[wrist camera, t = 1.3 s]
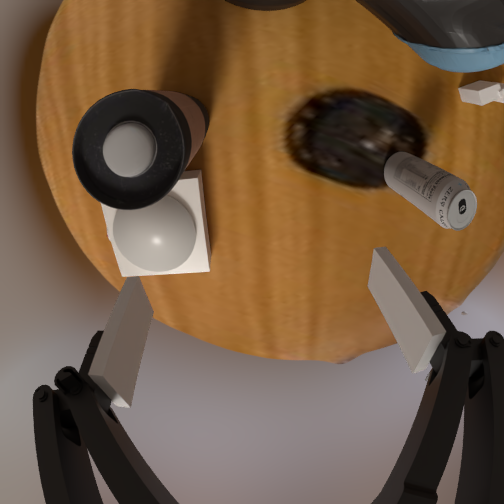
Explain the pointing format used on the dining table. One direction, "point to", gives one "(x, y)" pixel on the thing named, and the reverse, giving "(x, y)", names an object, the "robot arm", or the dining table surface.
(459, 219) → the energy drink can
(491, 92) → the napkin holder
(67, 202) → the dining table surface
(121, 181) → the travel mug
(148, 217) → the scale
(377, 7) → the robot arm
